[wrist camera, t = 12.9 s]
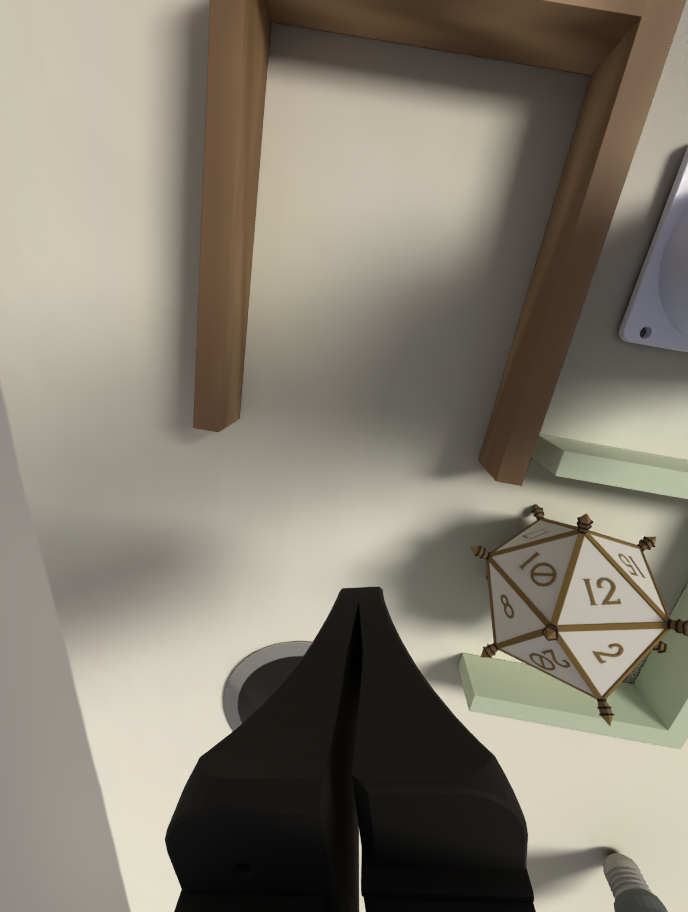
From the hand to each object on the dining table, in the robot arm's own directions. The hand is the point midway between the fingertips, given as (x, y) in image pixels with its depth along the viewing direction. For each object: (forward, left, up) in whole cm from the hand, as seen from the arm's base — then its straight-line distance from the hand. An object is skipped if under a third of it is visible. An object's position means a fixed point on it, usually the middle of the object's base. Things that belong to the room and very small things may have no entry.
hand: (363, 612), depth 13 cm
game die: (-10, +2, -10) cm, 14 cm away
